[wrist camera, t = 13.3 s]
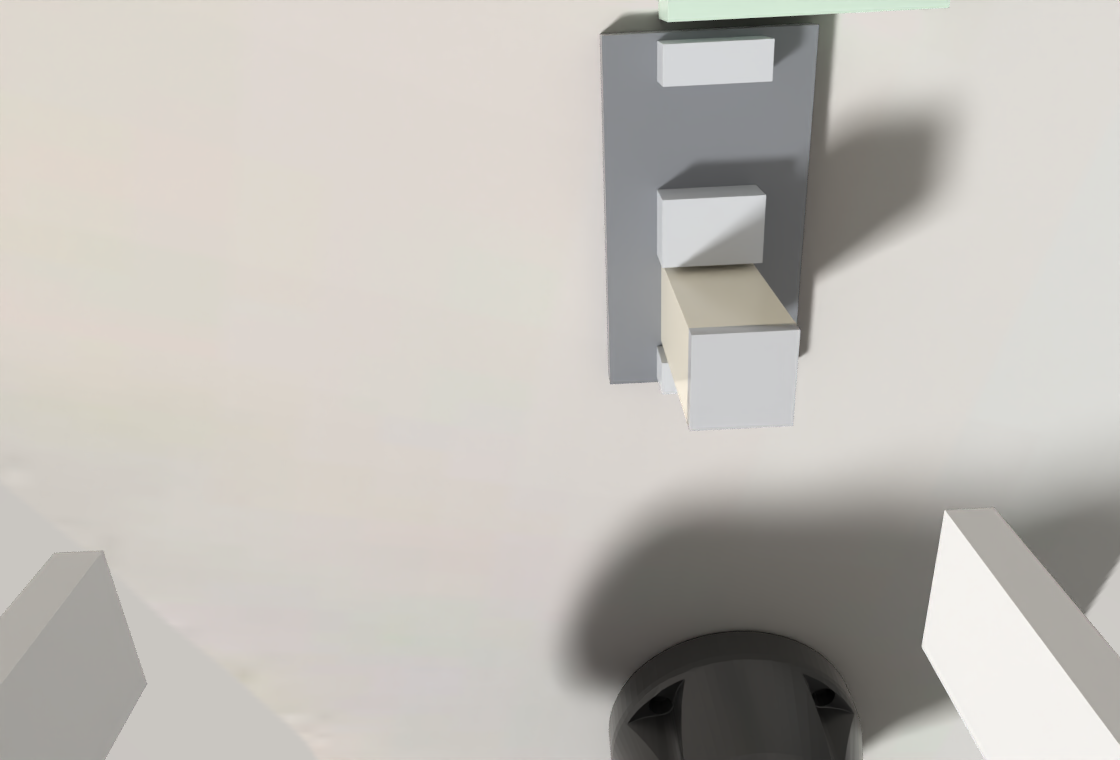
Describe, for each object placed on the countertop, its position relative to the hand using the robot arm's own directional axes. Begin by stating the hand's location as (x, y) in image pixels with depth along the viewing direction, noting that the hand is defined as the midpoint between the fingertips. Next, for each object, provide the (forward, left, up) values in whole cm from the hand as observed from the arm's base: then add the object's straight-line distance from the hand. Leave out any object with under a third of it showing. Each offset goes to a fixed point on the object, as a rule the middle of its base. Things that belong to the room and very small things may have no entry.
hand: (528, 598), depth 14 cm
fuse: (-5, -8, -28) cm, 29 cm away
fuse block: (-1, -8, -29) cm, 30 cm away
